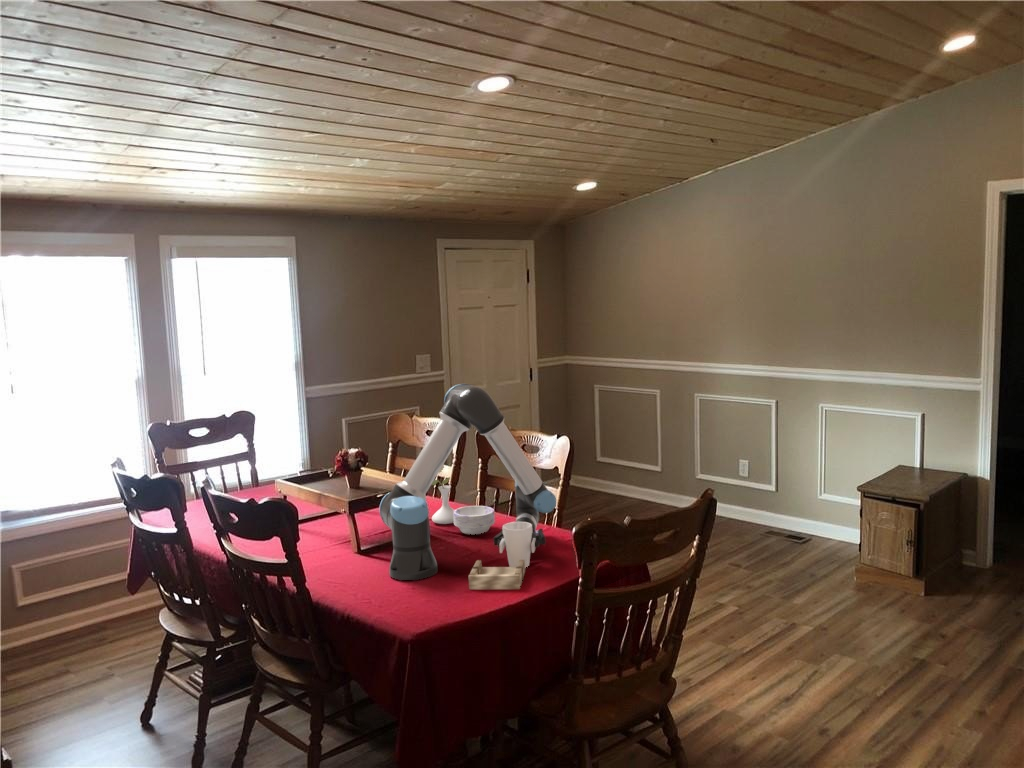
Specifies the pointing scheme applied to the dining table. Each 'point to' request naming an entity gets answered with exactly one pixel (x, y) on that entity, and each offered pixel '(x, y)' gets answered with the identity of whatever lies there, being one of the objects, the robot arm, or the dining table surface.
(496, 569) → the cradle
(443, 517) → the flower in vase
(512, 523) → the foam cup
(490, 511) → the paper bowls
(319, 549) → the dining table surface
